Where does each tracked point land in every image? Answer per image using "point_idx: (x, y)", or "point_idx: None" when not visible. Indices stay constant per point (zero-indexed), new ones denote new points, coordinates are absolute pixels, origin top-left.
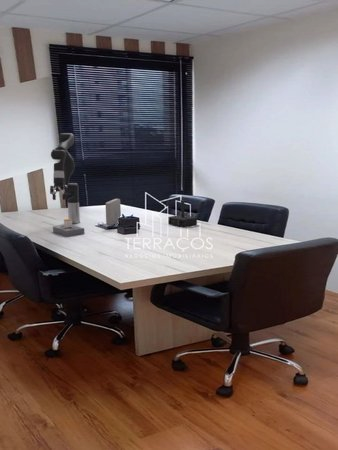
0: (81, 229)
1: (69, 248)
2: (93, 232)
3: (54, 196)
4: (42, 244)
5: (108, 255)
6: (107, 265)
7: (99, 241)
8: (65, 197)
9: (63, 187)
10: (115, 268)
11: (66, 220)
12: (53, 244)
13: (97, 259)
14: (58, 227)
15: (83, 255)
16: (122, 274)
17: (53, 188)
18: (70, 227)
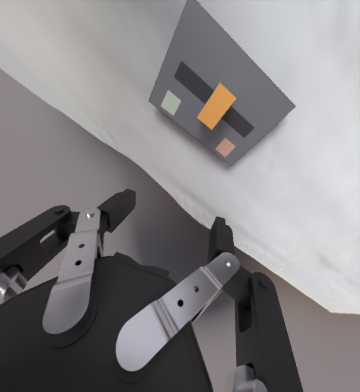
0: (280, 118)
1: (260, 240)
2: (337, 63)
3: (119, 216)
4: (201, 220)
5: (336, 269)
6: (324, 290)
7: (337, 201)
8: (231, 237)
9: (199, 374)
10: (334, 296)
11: (214, 126)
12: None
13: (312, 277)
14: (176, 111)
15: (290, 265)
16: (338, 305)
17: (20, 278)
18: None
